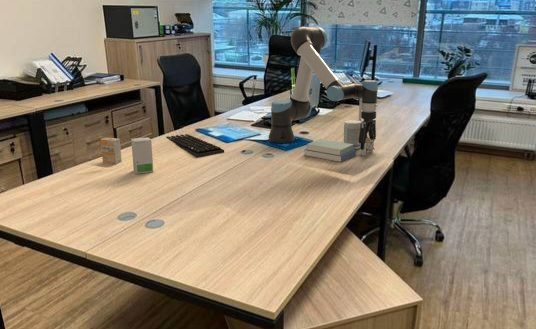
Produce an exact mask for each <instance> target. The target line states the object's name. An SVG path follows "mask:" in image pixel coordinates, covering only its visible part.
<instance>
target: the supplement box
mask: <svg viewBox="0 0 536 329" xmlns="http://www.w3.org/2000/svg"><path fill="white" fill-rule="evenodd" d="M99 140H100V148H101V157H102V158H101V159H102V163H103V164H109V165H116V166H117V165H118V164H121V163H122V162H123V160H122V151H121V149H122V148H121V139H120V138H115V137H102V138H100V139H99Z"/></svg>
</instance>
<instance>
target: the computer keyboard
mask: <svg viewBox="0 0 536 329" xmlns="http://www.w3.org/2000/svg"><path fill="white" fill-rule="evenodd" d="M165 139H168V140H169V141H170V142H173V143H174V144H175V146H177V147H179V148H181V149H182V150H184V151H186V152H187V153H189V154H191V155H192V156H194V157H195V158H198V159H199V158H204V157H207V156H214V155H219V154H223V153H225V149H222V148H221V147H220V146H217V145H216V144H213V143H211V142H208V141H205V140H203V139H201V138H198V137H195V136H193V135H190V134H189V133H184V134H182V133H181V134H179V135H178V134H176V135H171V136H170V135H169V136H165Z"/></svg>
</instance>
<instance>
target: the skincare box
mask: <svg viewBox="0 0 536 329" xmlns="http://www.w3.org/2000/svg"><path fill="white" fill-rule="evenodd" d="M130 140H131V141H130V142H131V153H132V166H133V168H132V169H133V172H134V173H135V174H136V175H137V174H148V173H154V163H153V162H154V161H153V160H154V159H153V158H154V157H153V147H152V145H153V144H152V139H151V138H150V137H136V138H131V139H130Z"/></svg>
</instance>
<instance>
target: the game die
mask: <svg viewBox="0 0 536 329" xmlns="http://www.w3.org/2000/svg"><path fill="white" fill-rule="evenodd" d="M375 141H376V140H372V139H370V138H369V135H367V138H366V142H365V143H366V154H367V153H368V152H370V150H372V149H373V151H374V150H375V148H374V147H375V146H374V144H375ZM360 146H361V143H360ZM358 150H360V148H359V149H358Z"/></svg>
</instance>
